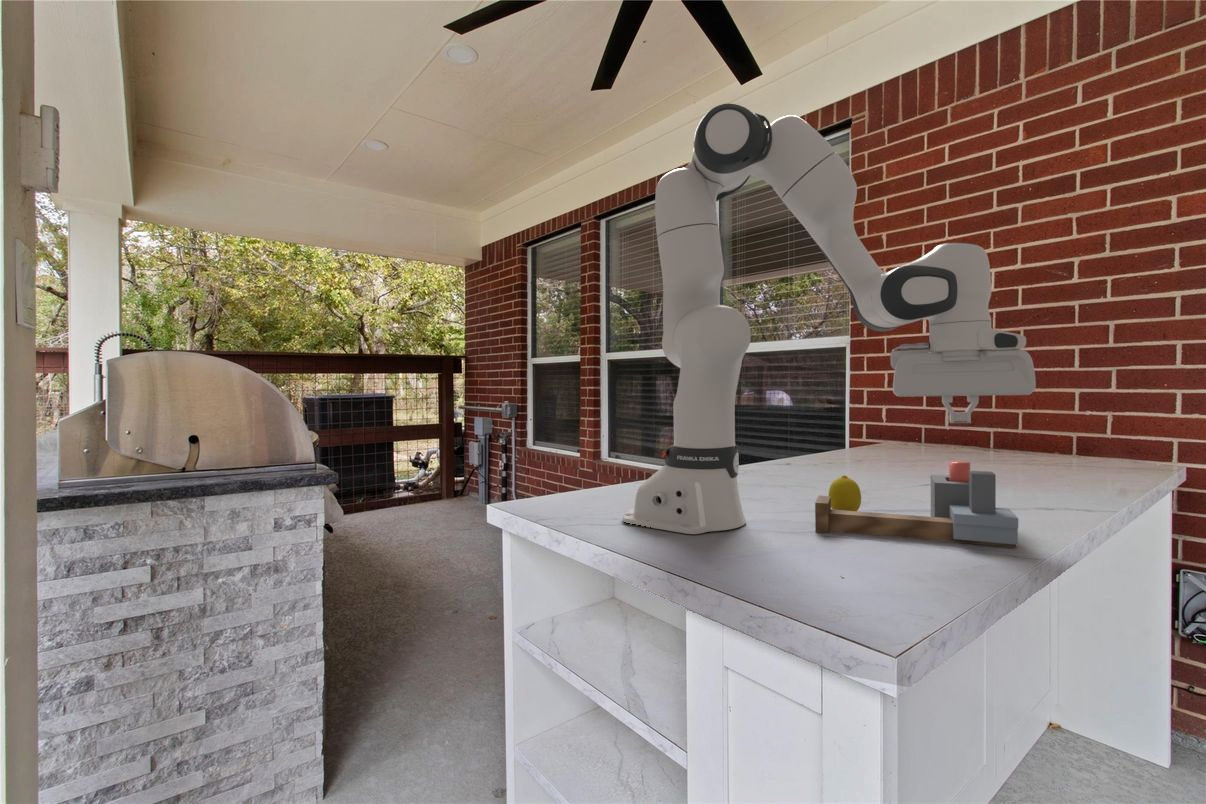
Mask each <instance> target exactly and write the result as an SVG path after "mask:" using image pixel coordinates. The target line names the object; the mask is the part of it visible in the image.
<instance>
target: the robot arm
mask: <svg viewBox="0 0 1206 804" xmlns="http://www.w3.org/2000/svg"><path fill="white" fill-rule="evenodd" d="M765 123H766V124H765ZM766 125H767V126H766ZM750 177H755V178H759V179H760V180H763V181H764V182H766V183H767V184H768V185H769V186H771V187H772V189H773V191H774V192H775V193H776V194H777V196H778V197H779V198H780V200H781V201H782V202H783V204H784V205H785V206H786V208H787V209H788V210H789V211H790V212H791V213H792V215H793V216H794V217H795V219H797V220H798V222H799V223H800V224H801V225H802V226H803V227H804V229H805V230H806V231H807V233H808V234H809V235H810V237H811V238H812V239H813V241H814V242H815V244H816V245H817V247H818V249H820V251H821V253H822V254H823V255H824V257H825V258H826V260H827V262H828V263H829V264H830V265H831V267H832V268H833V270H834V272H835V273H836V274H837V275H838V277H839V279H840V280H841V281H842V282H843V285H844V286H845V287H846V288H847V291H848V294H849V296H850V300H851V304H852V307H853V308H852V309H853V311H854V314H855V316H856V318H857V320H858V321H859V322H860V323H861V324H862V325H863V326H864V327H866V328H868V329H870V330H873V331H875V332H887V331H888V332H889V331H892V330H894V329H897V328H899V327H901V326H904V325H905V326H906V325H909V324H911V323H916V322H918V321H921V320H923V319H925V320H927V321H928V326H929V327H928V330H929V332H928V337H929V340H928V342H920V343H919V342H918V343H902V344H900V345H899V346H897V347H895V348H893V349H892V350H891V352H890V356H889V357H890V358H889V361H890V366H891V368H892V369H893V370H894V373H893V380H892V381H893V382H892V393H893V394H894V395H895V396H896V397H901V398H902V397H941V403H942V405H943V406H944V407H945V409H946V411H947V412H948V413H949V417H948V418H949V423H950V424H971V422H972V417H971V416H972V413H973V411H974V410H975V409H976V407H977V406H978V404H979V403H980V401H979V400H980V399H979V397H980V396H983V397H984V396H1030V395H1031V394H1032V393H1033V392H1034V391H1035V390H1036V388H1037V387H1036V386H1037V385H1036V384H1037V383H1036V381H1037V380H1036V373H1035V371H1036V370H1035V365H1034V361H1033V358H1032V356H1031V354H1030V353H1029V352H1028V351H1026V350H1024V348H1025V347H1026V345H1027V337H1026V336H1025V335H1023V334H1018V333H1013V332H1009V331H1005V330H1001V329H999V330H998V329H994V328H992V317H991V314H990V311H989V310H990V309H989V303H990V300H991V297H992V278H991V277H992V276H991V273H992V272H991V268H990V267H991V266H990V260H989V257H988V254H987V251H986V250H985V249H984V248H983V247H982V246H980V245H978V244H976V243H972V242H963V241H961V242H960V241H955V242H946V243H942V244H939V245H936V246H935V247H934V248H933V249H932V250H930V251H928V252H927V253H926V254H925V255H923V256H921V257H919V258H917V259H915V260H913V261H912V262H911V261H910V262H909V263H906V264H903V265H901V266H898V267H896V268H893V269H891V270H889V271H887V272H886V271H884V270H883V269H881V268H880V267H879V265H878V264H877V263H876V261H875V260H874V258H873V257H872V255H871V254H870V252H869V251H868V250H867V248H866V246H865V245H864V243H863V242H862V241H861V240H860V237H859V236H858V234H857V232H856V229H855V226H854V225H855V224H854V211H855V206H856V200H857V194H858V186H857V182H856V180H855V178H854V175H853V174H852V172H851V169H850V168H849V166H848V165H847V164H846V162H845V160H843V158H842V157H841V156H840V154H838V152H837V151H836V149H834V147H833V146H832V145H831V144H830V142H828V141H827V139H825V138H824V136H823V135H821V133H820V132H819V131H817V130H816V129H815V128H814V127H813V126H812V125H810V123H808V122H807V121H805V120H804V119H803V118H801V116H797V115H791V114H789V115H785V116H782V117H779V118H778V119H775V120H774V121H773V122H770V119H768V118H767V117H766V116H764V115H762V114H759V113H756V112H753V111H751V110H750V109H748V108H747V107H745V106H742V105H740V104H735V103H722V104H719V105H717V106H714V107H712V108H711V110H708V111H707V113H705V115H704V116H703V117H702V118H701V120H700V121H699V122H698V125H697V127H696V130H695V132H694V137H693V152H692V159H691V160H690V162H689V163H688V164H687V165H686V166H684V167H682V168H681V167H680V168H676V169H673V170H671V171H669V172H667V173H666V174H665V175H663V176H662V177H661V178H660V179H659V181H658V182H657V184H656V188H655V198H654V203H655V204H654V215H655V229H656V230H655V231H656V238H657V247H658V252H659V261H660V268H661V275H662V296H663V297H662V327H663V328H662V329H663V331H662V333H663V334H662V339H661V347H662V351H663V354H664V356H665V358H667V360H668V361H669V362H671V364H673V365H674V366H676V367H677V368H679V376H678V384H677V388H676V389H677V391H676V394H675V397H674V400H673V404H672V406H673V407H672V409H673V411H672V412H673V444H671V445H670V446H669V447H668V448H666V449H664V450H663V451H661V453H662V455H661V457H662V459H664V462H665V465H664V466H662V467H660V469H658V470H657V471H656V472H654V473H653V474H652V475H651V476H650V477H648V478H647V479H646V480H645V481H644V482H642V483H641V484H640V485H639V486H638V488H637V491H636V493H635V494H636V495H635V499H634V507H632V508H630V509H628V510H627V511H626V512H624V513H623V515H622V522H623V521H624V522H626V523H630V524H629V525H632V524H636V525H635V526H638V525H641V526H640V527H644V526H646V527H645V528H650V527H651V528H652V529H656V530H662V531H663V530H664V531H669V532H675V533H681V534H687V535H699V534H705V533H707V532H709V533H710V532H718V531H719V532H720V531H727V530H733V529H737V528H740V527H742V526H744V525H745V524H746V523H747V521H746V517H745V514H744V511H743V506H742V504H741V503H742V502H741V499H740V491H739V485H738V475H739V472H740V471H739V470H740V468H739V467H740V466H739V465H740V463H739V461H740V460H739V459H740V458H739V457H740V456H739V452H738V451H739V450H738V445H737V444H736V421H735V420H736V417H735V416H736V414H735V412H736V411H735V409H736V407H735V406H736V396H737V389H738V384H739V378H740V374H741V370H742V369H741V368H742V363H743V358H744V356H745V355H746V352H747V350H748V349H749V347H750V344H751V339H752V331H751V326H750V323H749V321H748V320H747V318H746V317H745V316H744V314H743V313H742V312H740V311H739V310H738V309H736V308H733V307H730V306H726V305H723V304H720V295H721V294H720V293H721V285H722V280H723V277H724V273H725V265H724V258H723V252H722V244H721V243H722V241H721V236H720V228H719V222H718V214H717V202H718V201H721V199H723V198H725V197H727V196H730V195H731V194H734V193H735V192H737V191H739V190H740V189H741V188H742V187H743V186H744V185H745V184H746V183H747V181H748V180H749V178H750ZM959 396H960V397H961V396H962V397H966V402H968V403H969V405H968V406H967V407H966V410H965V411H955V410H954V409H953V407H952V405H950V403H951V404H952V403H953V400H954V399H953V397H959ZM624 522H623V523H624ZM626 523H625V524H626Z"/></svg>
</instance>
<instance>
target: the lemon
mask: <svg viewBox="0 0 1206 804" xmlns="http://www.w3.org/2000/svg"><path fill="white" fill-rule="evenodd" d="M861 493H862V491H861V489H860V486H859V485H858V483H857V482H856V481H855V480H854V479H852V478H850V477H848V476H847V475H841V476H840V477H838V478H836V479H834V480H833V481H832V482H831V484H830V485H829V489H828V496H831V509H832V510H846V511H859V509H860V506H861V504H862V494H861Z"/></svg>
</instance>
